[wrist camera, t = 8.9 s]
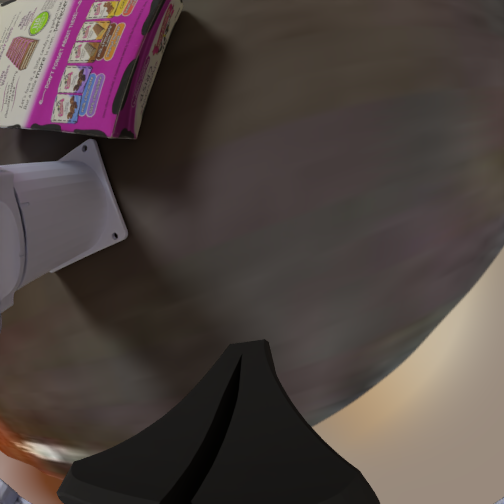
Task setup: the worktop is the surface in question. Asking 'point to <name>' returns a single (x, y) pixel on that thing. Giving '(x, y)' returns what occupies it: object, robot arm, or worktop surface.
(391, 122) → the worktop surface
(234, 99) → the worktop surface
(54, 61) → the candy bar box
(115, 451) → the robot arm
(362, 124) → the worktop surface
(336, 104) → the worktop surface
